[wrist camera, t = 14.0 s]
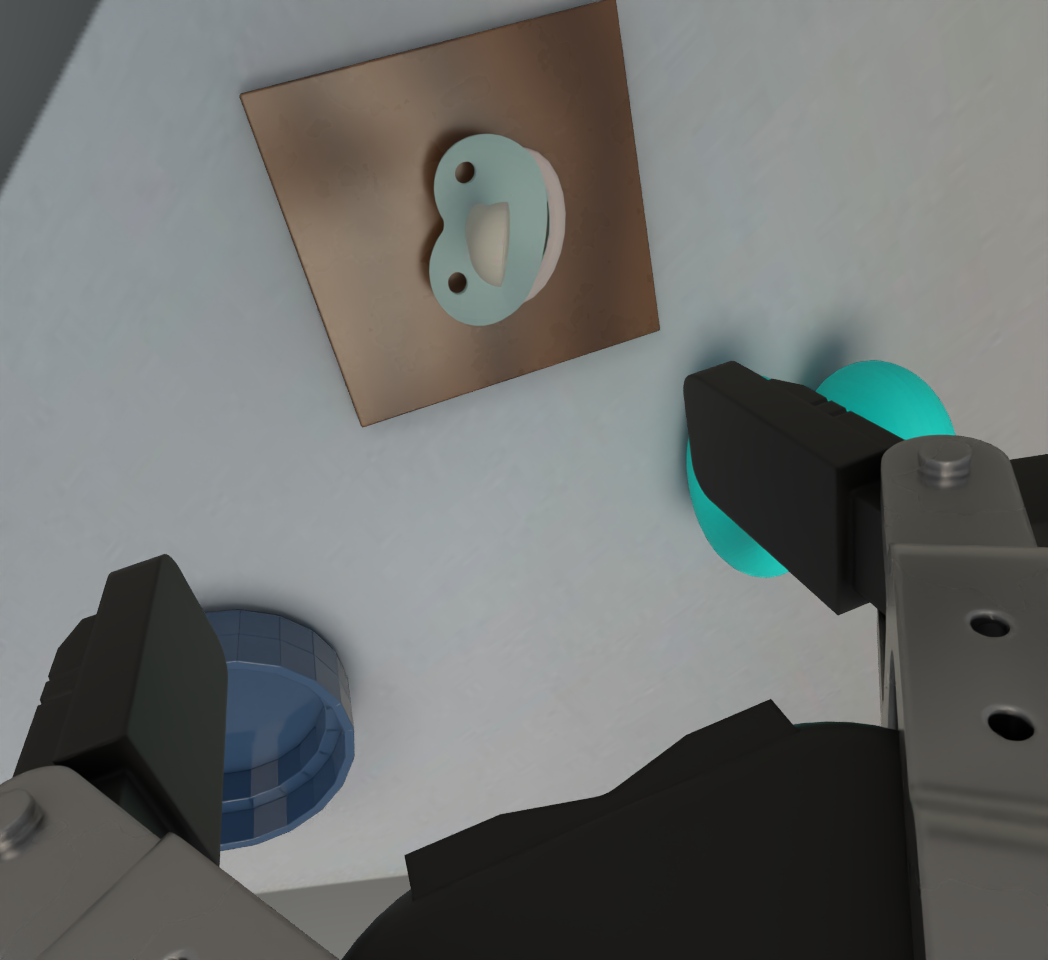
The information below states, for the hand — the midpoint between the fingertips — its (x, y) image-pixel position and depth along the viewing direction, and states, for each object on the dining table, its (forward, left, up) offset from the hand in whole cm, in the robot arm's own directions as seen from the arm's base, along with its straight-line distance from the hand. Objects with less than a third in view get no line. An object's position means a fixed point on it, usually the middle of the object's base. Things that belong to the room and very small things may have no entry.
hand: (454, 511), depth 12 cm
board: (+6, -1, -24) cm, 25 cm away
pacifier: (+6, -1, -23) cm, 24 cm away
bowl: (-13, -21, -24) cm, 35 cm away
